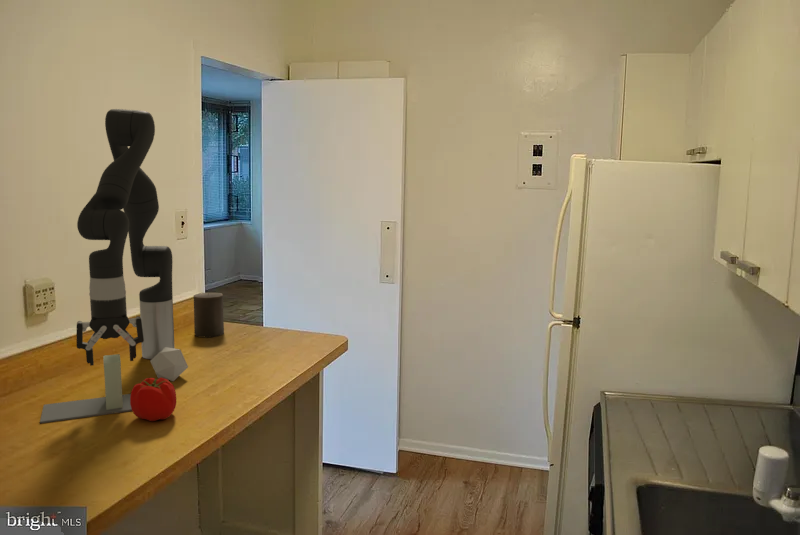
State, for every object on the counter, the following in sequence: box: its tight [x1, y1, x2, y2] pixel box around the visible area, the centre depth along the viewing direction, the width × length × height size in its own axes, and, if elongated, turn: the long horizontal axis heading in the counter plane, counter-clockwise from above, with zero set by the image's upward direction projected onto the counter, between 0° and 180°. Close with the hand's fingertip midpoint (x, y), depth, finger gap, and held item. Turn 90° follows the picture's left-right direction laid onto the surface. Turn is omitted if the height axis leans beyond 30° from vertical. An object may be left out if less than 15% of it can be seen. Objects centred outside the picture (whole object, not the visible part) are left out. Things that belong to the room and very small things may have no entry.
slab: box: [102, 353, 123, 410], centre depth 148 cm, size 7×4×11 cm, turn 26°
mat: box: [39, 393, 133, 424], centre depth 146 cm, size 11×20×1 cm, turn 116°
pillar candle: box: [193, 290, 225, 338], centre depth 213 cm, size 10×10×15 cm
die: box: [150, 347, 189, 382], centre depth 168 cm, size 8×9×10 cm
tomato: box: [130, 377, 177, 422], centre depth 141 cm, size 11×11×9 cm
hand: (111, 362), depth 147 cm, fingers open, 8 cm apart
